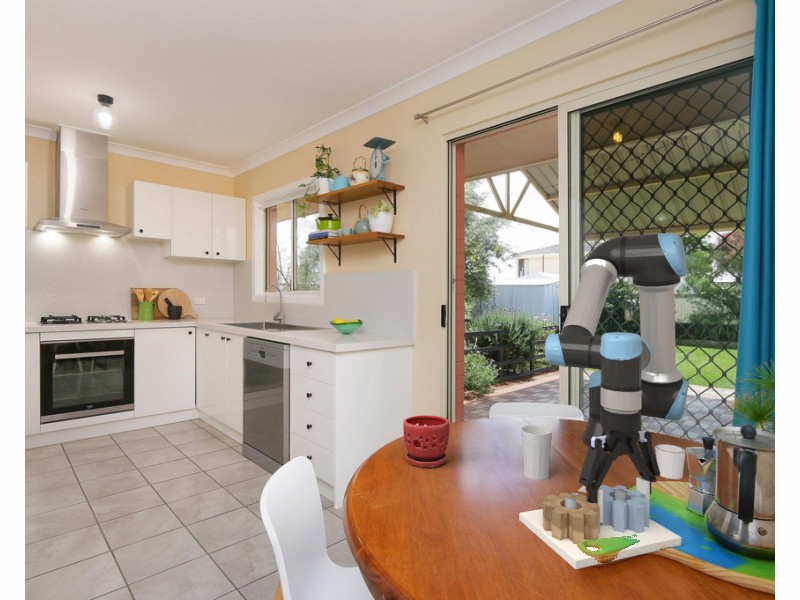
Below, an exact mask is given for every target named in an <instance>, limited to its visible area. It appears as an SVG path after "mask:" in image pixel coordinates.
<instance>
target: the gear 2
mask: <svg viewBox="0 0 800 600" xmlns="http://www.w3.org/2000/svg"><path fill="white" fill-rule="evenodd" d="M600 489H602V490H603V522H602V523H600V525H601V526H605V525H608V526H611V525H612V527H613V528H614V531H617V532H622V533H624V530H627V529H629V530H632V531H634V532H635V533H641V532H644V527H648V528H649V519H650V513H649V499H646V498H644V494H643V493H641V492H640V491H638V490H636V489H635V490H632V489H630V490H629V489H627V487H626V486H625V485H619V484H616V485H615V486H614V487H613V486H608V485H606V484H601V486H600ZM615 489H622V490H625V491H626V500H625V501H624V500H619V499H615Z"/></svg>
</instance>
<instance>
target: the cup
mask: <svg viewBox="0 0 800 600" xmlns="http://www.w3.org/2000/svg"><path fill="white" fill-rule="evenodd" d="M520 437H521V448H522V449H521V450H522V459H523V461H522V462H523V475H524V477H526V478H528V479H530V480H537V481H544V480H547V479H549V477H550V465H551V463H550V461H551V453H552V452H551V451H552V440H553V430H552V428H549V427H547V426H543V425H535V424H528V425H524V426H521V427H520Z"/></svg>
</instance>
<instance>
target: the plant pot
mask: <svg viewBox="0 0 800 600" xmlns="http://www.w3.org/2000/svg"><path fill="white" fill-rule="evenodd" d="M402 423H403V424H402V427H403V428H402V429H403V441H404V445H405V448H406V450H407V453H406V454H405V458H406V460H407V461H408V463H410V464H411V465H412V466H415V467H419V468H427V469H431V468H435V467H438V466H441V465H443V464H444V463H445V462H446V461H447V458H448V455H447V453H446V451H447V448H448V445H449V441H450V440H449V439H450V421H449V420H448V419H447V418H446V417H443V416H439V415H425V414H424V415H423V414H421V415H413V416H408V417H407V418H404V420H403V422H402Z"/></svg>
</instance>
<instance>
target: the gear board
mask: <svg viewBox="0 0 800 600" xmlns="http://www.w3.org/2000/svg"><path fill="white" fill-rule="evenodd" d="M615 499H619V500H624V501H625V500H626V491H625V490H622V489H615ZM565 508H567V509H576V499H575V498H572V497H567V498H566V499H565ZM518 515H519V516H518V520H519V522H521V523H522V524H523V525H524V526H526V528H527V529H529V530H530V531H531V532H532V533H534V534H535V536H537V537H538V538H539V539H541V540H542V542H544V543H545V544H546V545H547V546H548V547H549V548H550V549H552V550H553V551H554V552H555V553H556V554H557V555H558V556H560V558H562V559H563V560H564V561H565V562H566V563H568V565H570V566H571V567H572V568H573V569H575V570H579V569H583V568H587V567H592V566H596V565H601V564H602V563H600V562H599V563H598V561H597V560H595V558H594V557H591V556H588V555H586V554H585V553H583V552H582V551H581V550H580V549H579V548H578V547H577V544H573V542H572V540H569V538H568V539H563V540H561V541H559V540H557V539H555V538H553V537H552V532H551V531H544V528H543V508H539V509H535V510H534V509H533V510H529V511H523V512H522V511H521V512H519V514H518ZM634 534H636V535H637V537H636V536H635V537H634V536H632V535H634ZM622 536H631V537H633V538H631V539H637V540H640V542H638V543H635V544H634V545H631V546H629V547H627V548H625V549H623V550H621V551H619V552H618V556H617V558H616V557H615V559H614V560H612V561H611V562H615V561H618V560H622V559H627V558H631V557H636V556H640V555H644V554H649V553H653V552H657V551H658V552H659V551H661V550H660V548H661V547H662V546H665V547H671V548H674V547H675V548H676V547H679V546H682V537H681V536H680V535H678V534H676V533H674V532H673V531H671V530H669V529H667V528H666V527H665V526H663V525H662V524H659V523H657V522H656V521H654V520H653V519H650V518H649V528H648V527H644V532H641V533H635V532H634V531H632V530H629V529H627V530H624V533H622V532H617V531H614V528H613V527H612V525H611V526H608V525H605V526H601V525H600V533H599V539H601V538H610V537H622ZM626 538H627V537H626ZM629 539H630V538H629ZM584 540H585V539H584ZM586 548H587V549H588V550H591V551H597V550H599V549H598V548H595V547H594V548H593V547H586Z"/></svg>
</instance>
